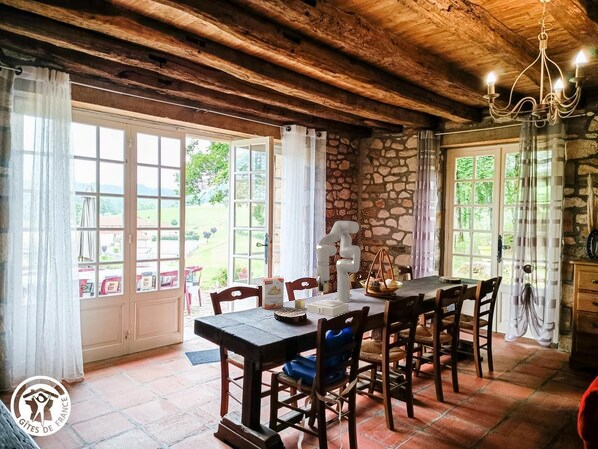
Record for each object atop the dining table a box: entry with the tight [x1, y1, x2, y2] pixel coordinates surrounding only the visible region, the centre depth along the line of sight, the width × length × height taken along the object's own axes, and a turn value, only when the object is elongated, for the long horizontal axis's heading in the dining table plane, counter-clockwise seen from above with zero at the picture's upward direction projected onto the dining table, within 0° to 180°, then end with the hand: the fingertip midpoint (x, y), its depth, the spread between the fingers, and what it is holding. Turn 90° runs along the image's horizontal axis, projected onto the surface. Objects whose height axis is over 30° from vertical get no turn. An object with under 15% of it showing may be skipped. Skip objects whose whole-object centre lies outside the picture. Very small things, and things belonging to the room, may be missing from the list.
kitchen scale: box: [306, 298, 350, 317], centre depth 276 cm, size 21×20×6 cm
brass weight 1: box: [294, 298, 306, 310], centre depth 284 cm, size 5×5×6 cm
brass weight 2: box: [317, 281, 329, 294], centre depth 278 cm, size 5×5×6 cm
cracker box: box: [261, 276, 285, 310], centre depth 285 cm, size 14×6×21 cm, turn 112°
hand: (323, 290), depth 278 cm, fingers closed on brass weight 2, 5 cm apart
